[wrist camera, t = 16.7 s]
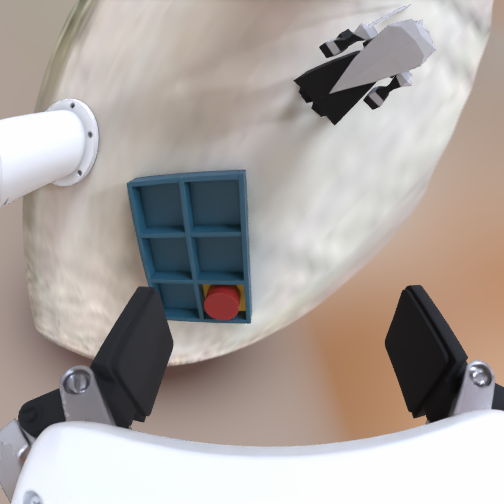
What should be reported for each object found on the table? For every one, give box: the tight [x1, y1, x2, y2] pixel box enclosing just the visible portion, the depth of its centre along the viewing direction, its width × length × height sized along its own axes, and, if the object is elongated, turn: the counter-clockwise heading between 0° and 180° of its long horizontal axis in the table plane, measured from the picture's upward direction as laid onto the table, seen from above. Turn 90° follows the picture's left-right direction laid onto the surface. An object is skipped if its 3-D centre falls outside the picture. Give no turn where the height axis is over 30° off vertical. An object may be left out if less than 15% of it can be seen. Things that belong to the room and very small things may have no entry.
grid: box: [127, 170, 252, 324], centre depth 34 cm, size 14×20×3 cm
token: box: [204, 284, 241, 320], centre depth 36 cm, size 5×5×3 cm
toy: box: [294, 4, 436, 126], centre depth 20 cm, size 8×20×15 cm
